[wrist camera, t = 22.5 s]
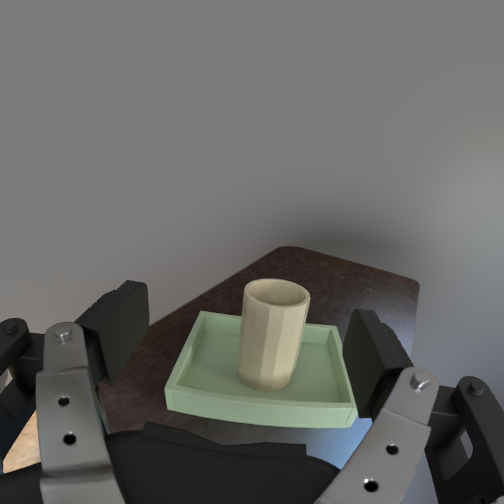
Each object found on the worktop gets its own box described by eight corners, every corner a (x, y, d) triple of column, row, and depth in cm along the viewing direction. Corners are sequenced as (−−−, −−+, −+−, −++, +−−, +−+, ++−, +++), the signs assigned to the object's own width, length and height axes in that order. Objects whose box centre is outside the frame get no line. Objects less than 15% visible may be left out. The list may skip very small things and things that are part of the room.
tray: (167, 409, 24) (164, 388, 23) (200, 330, 37) (200, 310, 36) (350, 428, 23) (360, 408, 22) (330, 344, 37) (336, 325, 36)
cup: (233, 387, 27) (241, 303, 24) (240, 352, 33) (247, 275, 30) (293, 393, 27) (313, 311, 24) (291, 358, 33) (306, 282, 29)
